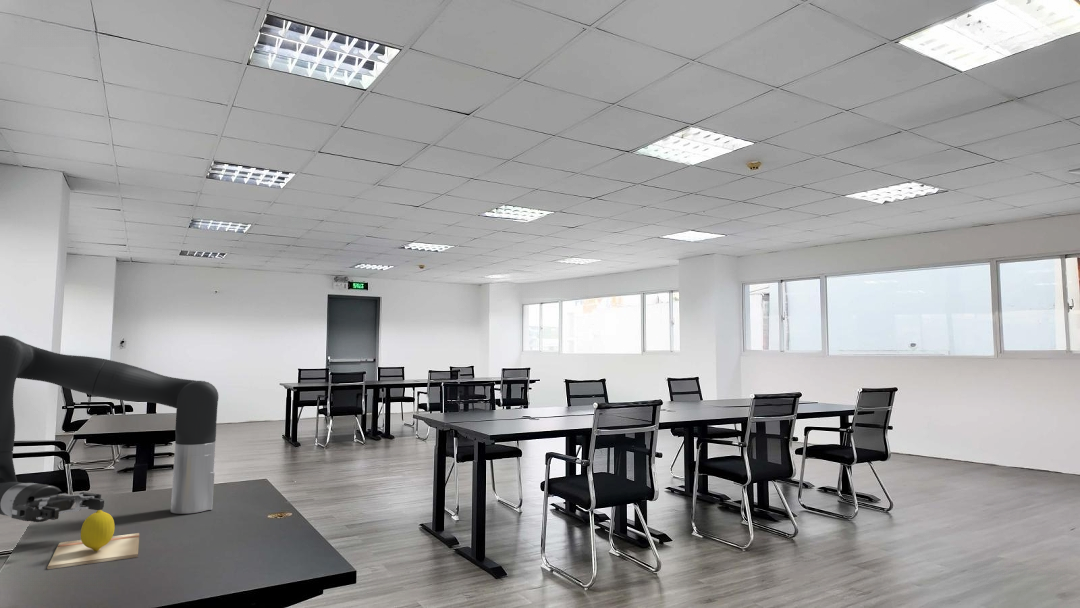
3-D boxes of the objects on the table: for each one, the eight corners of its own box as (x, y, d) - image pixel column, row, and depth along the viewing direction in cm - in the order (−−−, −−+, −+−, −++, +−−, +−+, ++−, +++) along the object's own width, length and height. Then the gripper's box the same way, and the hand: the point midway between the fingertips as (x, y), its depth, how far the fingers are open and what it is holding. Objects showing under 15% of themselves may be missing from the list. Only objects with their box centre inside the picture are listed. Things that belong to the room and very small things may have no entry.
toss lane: (139, 534, 134) (139, 532, 134) (137, 557, 119) (137, 554, 119) (59, 544, 127) (59, 541, 127) (47, 569, 112) (47, 566, 112)
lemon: (95, 556, 118) (98, 514, 119) (71, 554, 119) (75, 512, 120) (119, 547, 123) (122, 507, 124) (97, 546, 124) (100, 506, 125)
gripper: (-7, 490, 124) (42, 497, 118) (69, 478, 137) (116, 484, 131) (-10, 527, 123) (39, 537, 117) (66, 512, 137) (114, 519, 130)
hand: (80, 509), depth 124 cm, fingers open, 8 cm apart
